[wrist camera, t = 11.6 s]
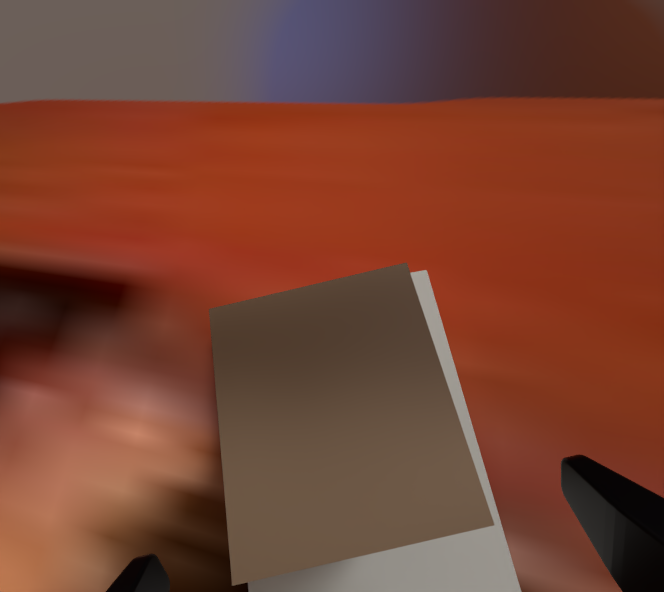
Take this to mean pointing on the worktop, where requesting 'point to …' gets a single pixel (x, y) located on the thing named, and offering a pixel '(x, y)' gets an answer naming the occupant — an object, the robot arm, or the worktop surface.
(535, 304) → the worktop surface
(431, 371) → the brown box on plinth
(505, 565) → the display block
